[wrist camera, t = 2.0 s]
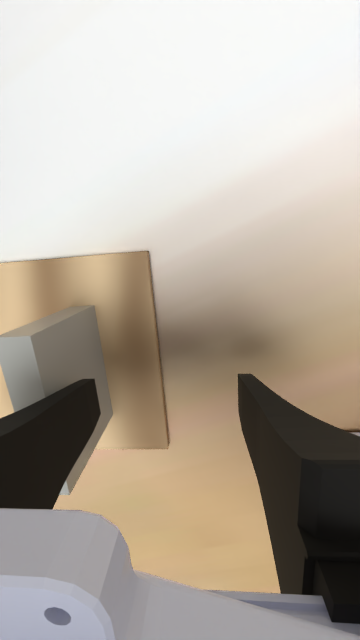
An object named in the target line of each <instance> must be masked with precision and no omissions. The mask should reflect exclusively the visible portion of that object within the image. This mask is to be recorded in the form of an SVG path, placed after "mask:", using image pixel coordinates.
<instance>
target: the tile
mask: <svg viewBox="0 0 360 640" xmlns="http://www.w3.org/2000/svg"><path fill="white" fill-rule="evenodd" d="M0 365H1V368H2V372H3V375H4V378H5V382H6V385H7V389H8V392H9V396H10V399H11V402H12V406H13V409H14V412H16V411H19V410H21V409H23V408H25V407H27V406H29V405H31V404H33V403H35V402H37V401H39V400H41V399H43V398H46V397H47V396H49V395H51V394H53V393H55V392H57V391H59V390H61V389H63V388H65V387H66V386H68V385H70V384H72V383H74V382H77V381H79V380H81V379H95V384H96V389H97V395H98V400H99V405H100V411H101V415H100V417H99V420H98V422H97V425H96V427H95V430H94V432H93V434H92V435H91V437H90V439H89V441H88V443H87V444H86V446H85V448H84V449H83V451H82V453H81V455H80V456H79V458H78V460H77V462H76V463H75V465H74V467H73V468H72V470H71V472H70V474H69V475H68V477H67V479H66V481H65V483H64V485H63V487H62V489H61V492H60V494H59V495H70V493H71V492H72V490H73V488H74V486H75V484H76V482H77V480H78V479H79V477H80V475H81V473H82V471H83V469H84V468H85V466H86V464H87V462H88V460H89V458H90V456H91V455H92V453H93V451H94V449H95V447H96V445H97V443H98V442H99V440H100V438H101V436H102V434H103V432H104V431H105V429H106V427H107V425H108V423H109V421H110V419H111V418H112V416H113V411H112V405H111V399H110V393H109V388H108V382H107V376H106V370H105V364H104V358H103V353H102V347H101V341H100V335H99V329H98V324H97V318H96V312H95V306H94V305H88V306H72V307H68V308H66V309H63V310H61V311H58V312H56V313H53V314H51V315H48V316H46V317H43V318H41V319H38V320H36V321H33V322H31V323H28V324H26V325H23V326H21V327H19V328H16V329H14V330H11V331H9V332H6V333H4V334H1V335H0Z"/></svg>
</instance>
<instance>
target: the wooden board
mask: <svg viewBox="0 0 360 640" xmlns="http://www.w3.org/2000/svg"><path fill="white" fill-rule="evenodd" d="M88 305H94V306H95V312H96V318H97V324H98V329H99V335H100V341H101V347H102V353H103V358H104V364H105V370H106V376H107V382H108V388H109V393H110V399H111V405H112V411H113V416H112V418H111V419H110V421H109V423H108V425H107V427H106V429H105V431H104V432H103V434H102V436H101V438H100V440H99V442H98V443H97V445H96V447H95V449H168V446H169V438H168V428H167V419H166V410H165V400H164V391H163V382H162V372H161V363H160V354H159V344H158V335H157V325H156V316H155V307H154V297H153V288H152V279H151V269H150V260H149V251H140V252H128V253H116V254H104V255H92V256H80V257H69V258H57V259H45V260H33V261H21V262H9V263H0V335H1V334H4V333H6V332H9V331H11V330H14V329H16V328H19V327H21V326H23V325H26V324H28V323H31V322H33V321H36V320H38V319H41V318H43V317H46V316H48V315H51V314H53V313H56V312H58V311H61V310H63V309H66V308H68V307H72V306H88ZM12 413H14V409H13V406H12V402H11V399H10V396H9V392H8V389H7V385H6V382H5V378H4V375H3V372H2V368H1V365H0V418H2V417H5V416H7V415H9V414H12Z"/></svg>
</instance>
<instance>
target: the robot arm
mask: <svg viewBox="0 0 360 640" xmlns="http://www.w3.org/2000/svg"><path fill="white" fill-rule="evenodd" d="M238 407H239V416H240V422H241V427H242V431H243V435H244V438H245V441H246V444H247V448H248V451H249V454H250V457H251V460H252V463H253V466H254V470H255V473H256V476H257V480H258V483H259V487H260V492H261V496H262V501H263V506H264V510H265V515H266V520H267V525H268V530H269V534H270V539H271V544H272V549H273V555H274V560H275V565H276V570H277V575H278V580H279V586H280V591H281V594H278V593H259V592H240V591H220V590H202V589H199V588H195V587H192V586H188V585H185V584H181V583H178V582H175V581H171V580H168V579H164V578H161V577H158V576H154V575H151V574H147V573H144V572H141V571H137V570H133V568H132V565H131V559H130V554H129V548H128V545H127V543H126V542H125V540H124V538H123V536H122V534H121V532H120V530H119V529H118V527H117V526H116V525H114V524H113V523H112V522H110V521H109V520H107V519H106V518H104V517H103V516H101V515H99V514H95V513H90V512H86V511H81V510H52V509H53V507H54V505H55V502H56V500H57V498H58V496H59V494H60V492H61V489H62V487H63V485H64V483H65V481H66V479H67V477H68V475H69V474H70V472H71V470H72V468H73V467H74V465H75V463H76V462H77V460H78V458H79V456H80V455H81V453H82V451H83V449H84V448H85V446H86V444H87V443H88V441H89V439H90V437H91V435H92V434H93V432H94V430H95V427H96V425H97V422H98V420H99V417H100V415H101V411H100V405H99V400H98V395H97V389H96V384H95V379H81V380H79V381H77V382H74V383H72V384H70V385H68V386H66V387H65V388H63V389H61V390H59V391H57V392H55V393H53V394H51V395H49V396H47V397H46V398H43V399H41V400H39V401H37V402H35V403H33V404H31V405H29V406H27V407H25V408H23V409H21V410H19V411H16V412H14V413H12V414H9V415H7V416H5V417H2V418H0V640H360V432H353V433H349V432H347V431H344V430H342V429H339V428H337V427H334V426H332V425H330V424H328V423H325V422H323V421H321V420H319V419H317V418H315V417H313V416H311V415H309V414H307V413H305V412H304V411H302V410H300V409H298V408H297V407H295V406H293V405H292V404H290V403H289V402H287V401H286V400H284V399H283V398H281V397H280V396H278V395H277V394H276V393H274V392H273V391H272V390H270V389H269V388H268V387H267V386H265V385H264V384H263V383H262V382H261V381H259V380H258V379H257V378H256V377H255V376H253V375H252V374H238Z"/></svg>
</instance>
